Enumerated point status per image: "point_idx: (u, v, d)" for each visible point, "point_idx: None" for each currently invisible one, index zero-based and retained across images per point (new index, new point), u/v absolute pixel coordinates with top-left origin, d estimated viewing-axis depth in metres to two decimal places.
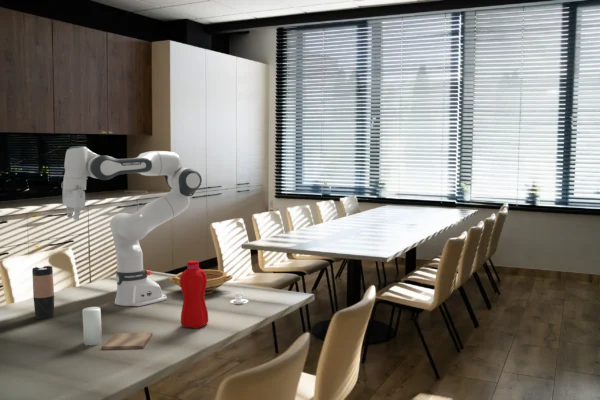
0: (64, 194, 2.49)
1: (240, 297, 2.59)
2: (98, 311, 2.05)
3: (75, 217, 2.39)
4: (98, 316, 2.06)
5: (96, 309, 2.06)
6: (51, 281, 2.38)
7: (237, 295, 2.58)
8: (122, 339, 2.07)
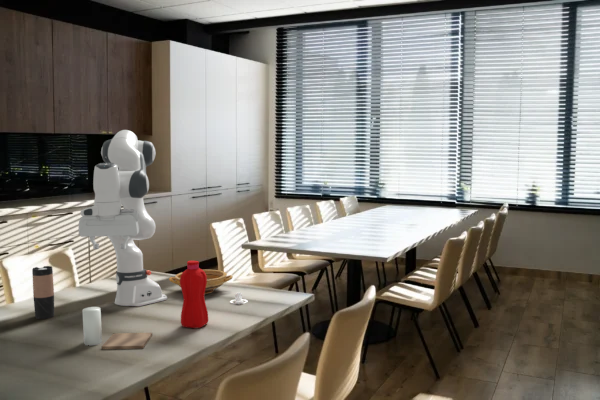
0: (85, 223, 2.05)
1: (240, 297, 2.59)
2: (98, 311, 2.05)
3: (125, 245, 2.07)
4: (98, 316, 2.06)
5: (96, 309, 2.06)
6: (51, 281, 2.38)
7: (237, 295, 2.58)
8: (122, 339, 2.07)
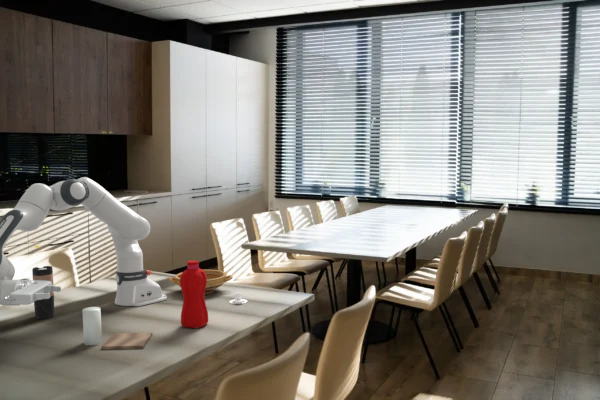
0: None
1: (239, 297, 2.58)
2: (98, 311, 2.05)
3: (46, 297, 2.00)
4: (99, 316, 2.06)
5: (96, 309, 2.06)
6: (51, 281, 2.38)
7: (236, 295, 2.58)
8: (122, 339, 2.07)
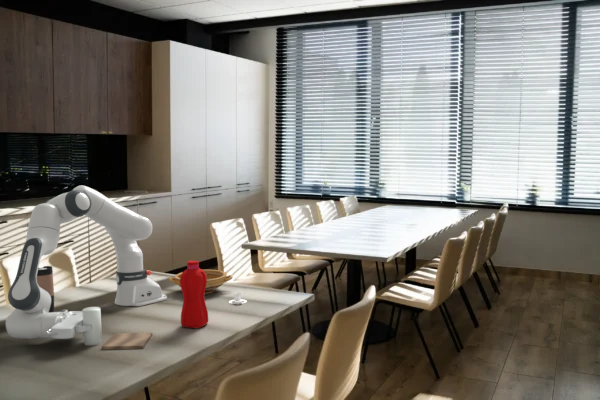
0: None
1: (239, 297, 2.58)
2: (98, 311, 2.05)
3: (87, 329, 2.03)
4: (98, 316, 2.06)
5: (96, 309, 2.06)
6: (51, 281, 2.38)
7: (236, 295, 2.58)
8: (122, 339, 2.07)
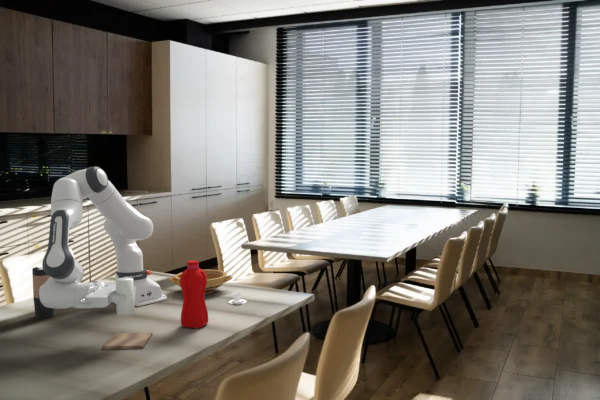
0: None
1: (238, 297, 2.58)
2: (131, 281, 2.05)
3: (121, 299, 2.02)
4: (131, 286, 2.05)
5: (129, 279, 2.05)
6: None
7: (235, 295, 2.58)
8: (122, 339, 2.07)
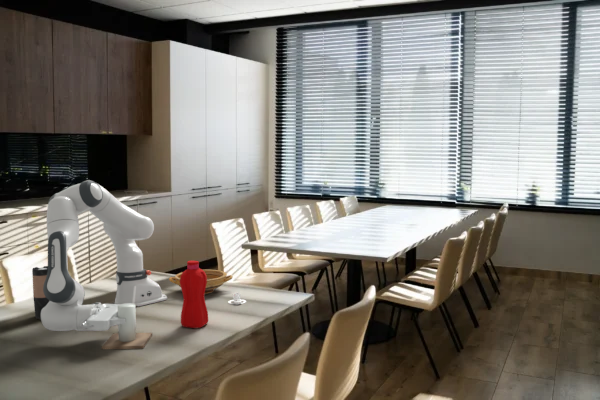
0: None
1: (238, 297, 2.58)
2: (133, 307, 2.06)
3: (122, 322, 2.02)
4: (134, 312, 2.06)
5: (131, 305, 2.06)
6: None
7: (235, 295, 2.58)
8: None
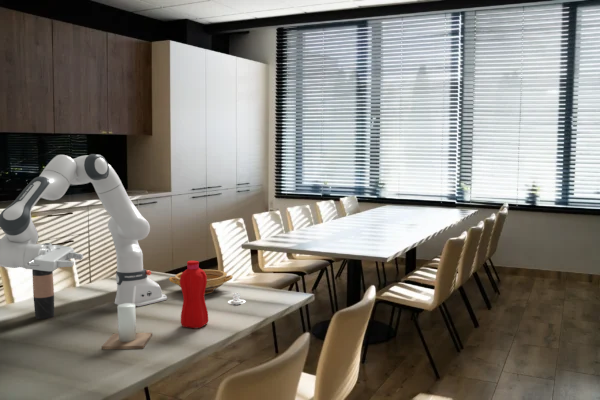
0: None
1: (238, 297, 2.58)
2: (133, 308, 2.06)
3: (69, 265, 2.01)
4: (133, 312, 2.06)
5: (131, 305, 2.06)
6: (51, 281, 2.38)
7: (235, 295, 2.58)
8: None
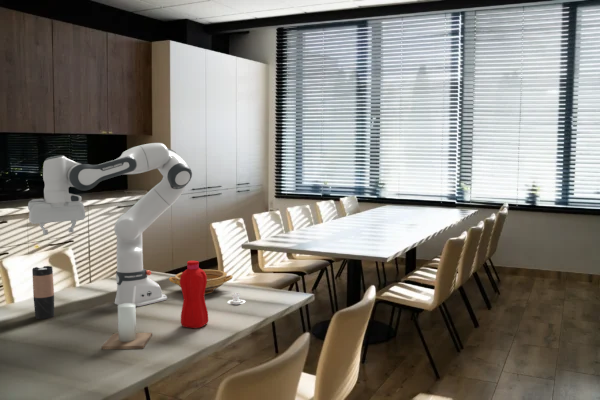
0: None
1: (237, 297, 2.58)
2: (133, 308, 2.05)
3: (43, 232, 2.27)
4: (133, 312, 2.06)
5: (131, 306, 2.06)
6: (51, 281, 2.38)
7: (234, 295, 2.58)
8: None
